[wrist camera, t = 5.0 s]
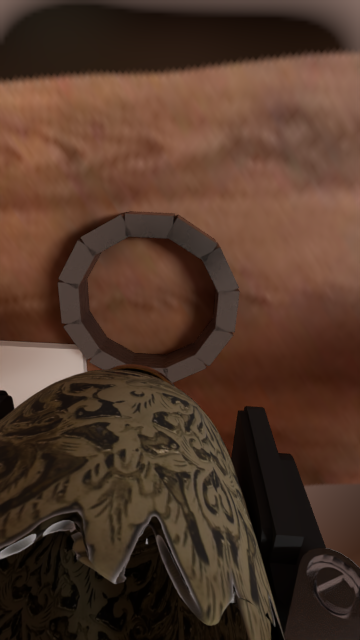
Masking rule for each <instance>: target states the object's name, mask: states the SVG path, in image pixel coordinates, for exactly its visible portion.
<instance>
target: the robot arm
mask: <svg viewBox="0 0 360 640" xmlns="http://www.w3.org/2000/svg"><path fill="white" fill-rule="evenodd" d="M12 410H14V403H13V398H12V397H11V396H10V395H8V393H7V392H6V391H4V390H0V420H1V419H2V418H4V417H5V416H6V415H7V414H8V413H10V412H11V411H12ZM231 460H232V463H233V466H234V469H235V472H236V475H237V478H238V481H239V484H240V487H241V490H242V493H243V496H244V499H245V502H246V506H247V509H248V512H249V516H250V519H251V523H252V526H253V529H254V533H255V536H256V540H257V543H258V547H259V550H260V553H261V557H262V560H263V564H264V567H265V571H266V574H267V578H268V581H269V585H270V588H271V592H272V595H273V599H274V602H275V606H276V609H277V613H278V616H279V619H280V623H281V626H282V630H283V633H284V637H282V640H360V568H359V567H358V566H357V565H356V564H355V563H354V562H353V561H351V560H350V559H349V558H347V557H346V556H344V555H343V554H341V553H339V552H337V551H334V550H331V549H328V548H326V547H325V544H324V541H323V538H322V536H321V533H320V530H319V527H318V525H317V522H316V519H315V516H314V514H313V511H312V508H311V506H310V502H309V500H308V497H307V494H306V492H305V489H304V486H303V483H302V480H301V478H300V475H299V472H298V469H297V466H296V464H295V461H294V459H293V457H292V455H291V454H283V453H278V451H277V448H276V445H275V441H274V438H273V435H272V432H271V428H270V425H269V422H268V419H267V416H266V412H265V409H264V408H263V407H249V406H246V407H245V408H244V411H238V414H237V421H236V429H235V436H234V443H233V450H232V457H231ZM284 638H285V639H284Z"/></svg>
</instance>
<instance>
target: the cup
mask: <svg viewBox="0 0 360 640" xmlns="http://www.w3.org/2000/svg"><path fill="white" fill-rule="evenodd" d="M282 637H284V633H283V630H282V626H281V623H280V619H279V616H278V613H277V609H276V606H275V602H274V599H273V595H272V592H271V588H270V585H269V581H268V578H267V574H266V571H265V567H264V564H263V560H262V557H261V553H260V550H259V547H258V543H257V540H256V536H255V533H254V529H253V526H252V523H251V519H250V516H249V512H248V509H247V506H246V502H245V499H244V496H243V493H242V490H241V487H240V484H239V481H238V478H237V475H236V472H235V469H234V466H233V463H232V460H231V458H230V455H229V453H228V450H227V448H226V446H225V444H224V442H223V440H222V438H221V436H220V434H219V433H218V431H217V429H216V427H215V426H214V424H213V423H212V421H211V420H210V418H209V417H208V416H207V415H206V414H205V412H204V411H203V410H202V409H201V408H200V407H199V405H198V404H197V403H196V402H194V401H193V400H192V399H191V398H190V397H189V396H188V395H186V394H185V393H184V392H182V391H181V390H179V389H178V388H176V387H175V386H174V384H173V383H172V382H171V381H170V380H169V379H168V378H167V377H166V376H165V375H163V374H162V373H160V372H159V371H157V370H155V369H153V368H150V367H147V366H143V365H137V364H126V365H120V366H116V367H113V368H110V369H108V370H95V371H88V372H84V373H80V374H76V375H73V376H70V377H68V378H65V379H62V380H60V381H57V382H55V383H53V384H51V385H49V386H47V387H46V388H44V389H42V390H41V391H39V392H37V393H36V394H34V395H33V396H31V397H30V398H28V399H27V400H26V401H24V402H23V403H21V404H20V405H19V406H17V407H16V408H15V409H14V410H12V411H11V412H10V413H8V414H7V415H6V416H5V417H4V418H2V419H1V420H0V640H282ZM284 639H285V638H284Z"/></svg>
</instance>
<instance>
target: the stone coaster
mask: <svg viewBox="0 0 360 640" xmlns="http://www.w3.org/2000/svg"><path fill="white" fill-rule="evenodd" d="M84 372H87V364H86V358H85V357H84V355H83V354H82V353H81V351H80V350H79V348H78V347H77V346H76V344H58V343H38V342H18V341H0V390H4V391H6V392H7V393H8V395H10V396H11V397H12V398H13V403H14V409H15V408H16V407H17V406H19V405H20V404H21V403H23V402H24V401H26V400H27V399H28V398H30V397H31V396H33V395H34V394H36V393H37V392H39V391H41V390H42V389H44V388H46V387H47V386H49V385H51V384H53V383H55V382H57V381H60V380H62V379H65V378H68V377H70V376H73V375H76V374H80V373H84Z"/></svg>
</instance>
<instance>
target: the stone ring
mask: <svg viewBox="0 0 360 640" xmlns="http://www.w3.org/2000/svg"><path fill="white" fill-rule="evenodd" d="M174 218H175V214H173V213H153V212H133V211H130V212H128V213H127V212H126V213H124V214H121V215H119V216H117V217H116V218H114V219H112V220H110V221H109V222H107V223H105V224H103V225H102V226H100V227H98V228H96V229H94V230H93V231H91V232H89V233H87V234H86V235H84V236H82V237H81V239H79V240H78V241H77V243H76V245H75V247H74V249H73V251H72V253H71V255H70V257H69V259H68V261H67V263H66V265H65V266H64V268H63V270H62V272H61V274H60V276H59V278H58V279H60V281H59V282H58V290H59V300H60V310H61V320H62V323H65V325H64V329H65V330H66V331H67V333H68V334H69V336H70V337H71V339H72V340H73V341H74V343H75V344H76V346H77V347H78V348H79V350H80V351H81V353H82V354H83V355H84V357H85V358H86V360H87V359H90V358H92V359H91V360H90V363H92V364H94V365H95V366H97V367H99V368H101V369H103V370H108V369H110V368H113V367H116V366H120V365H126V364H137V365H143V366H147V367H150V368H153V369H155V370H157V371H159V372H160V373H162V374H163V375H165V376H166V377H167V378H168V379H169V380H170V381H171V382H172V383H173V382H176V381H178V380H180V379H182V378H185V377H187V376H189V375H192V374H194V373H196V372H199V371H201V370H203V369H206V365H208V366H210V364H211V363H212V362H213V361H214V359H215V358H216V357H217V355H218V354H219V353H220V352H221V350H222V349H223V348H224V346H225V345H226V344H227V343H228V341H229V340H230V339H231V338H232V336H233V333H232V332H235V325H236V316H237V308H238V300H239V292H240V291H239V289H238V288H239V287H238V285H237V282H236V280H235V278H234V276H233V274H232V272H231V270H230V267H229V265H228V263H227V261H226V259H225V257H224V255H223V252H222V250H221V248H220V246H219V244H218V243H217V242H216V241H215V239H214V238H212V237H211V236H209V235H208V234H206V233H205V232H203V231H202V230H200V229H199V228H197V227H196V226H194V225H193V224H191V223H190V222H188V221H187V220H185V219H184V218H182V217H181V216H179V215H178V217H177V218H176V220H175V221H174ZM127 237H148V238H168V239H170V240H172V241H174V242H175V243H177V244H178V245H180V246H181V247H183V248H184V249H186V250H187V251H189V252H190V253H192V254H193V255H195V256H197V257H198V258H200V259H201V260H202V261H203V263H204V265H205V267H206V269H207V271H208V273H209V275H210V277H211V279H212V281H213V283H214V285H215V287H216V293H215V304H214V314H213V318H212V319H211V321H210V322H209V323H208V325H207V326H206V328H205V329H204V330H203V332H202V333H201V334H200V336H199V337H198V338H197V340H196V341H195V342H194V343H192V344H189V345H187V346H185V347H183V348H181V349H178V350H176V351H174V352H172V353H169V354H167V355H160V354H140V353H134V352H132V351H130V350H128V349H127V348H125V347H123V346H121V345H119V344H118V343H116V342H114V341H112V340H111V339H109V338H107V337H106V335H105V334H104V332H103V331H102V329H101V328H100V326H99V325H98V323H97V322H96V320H95V319H94V317H93V315H92V314H91V312H90V311H89V297H88V282H87V278H88V276H89V274H90V273H91V271H92V269H93V267H94V265H95V263H96V262H97V260H98V258H99V256H100V254H101V252H102V251H103V250H105V249H107V248H109V247H111V246H113V245H114V244H116V243H118V242H120V241H122V240H124V239H125V238H127Z"/></svg>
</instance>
